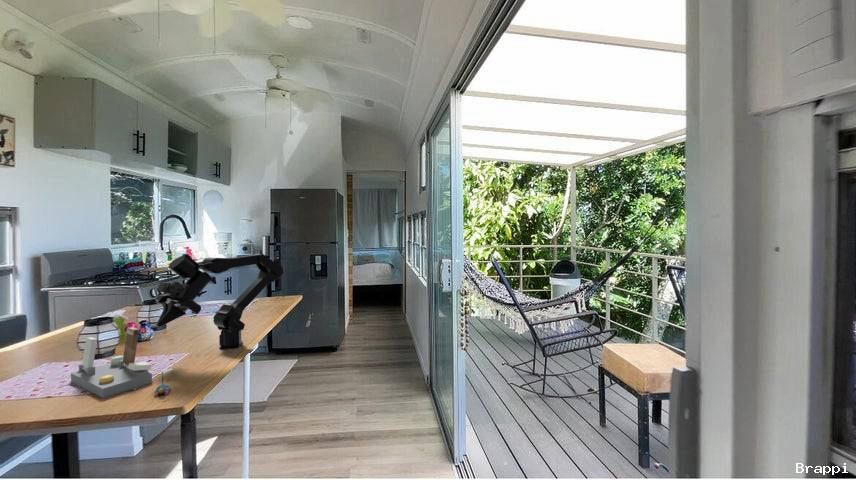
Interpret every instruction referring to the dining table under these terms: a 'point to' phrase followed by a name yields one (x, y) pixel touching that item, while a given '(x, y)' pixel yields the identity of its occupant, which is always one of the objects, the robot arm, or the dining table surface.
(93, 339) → the lever grey
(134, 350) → the paddle walnut
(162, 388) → the bomb figurine
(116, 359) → the button
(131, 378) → the console
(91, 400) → the dining table surface
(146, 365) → the rocker
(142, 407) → the dining table surface
